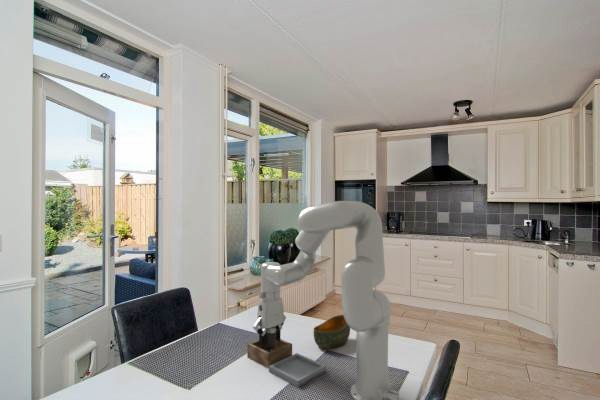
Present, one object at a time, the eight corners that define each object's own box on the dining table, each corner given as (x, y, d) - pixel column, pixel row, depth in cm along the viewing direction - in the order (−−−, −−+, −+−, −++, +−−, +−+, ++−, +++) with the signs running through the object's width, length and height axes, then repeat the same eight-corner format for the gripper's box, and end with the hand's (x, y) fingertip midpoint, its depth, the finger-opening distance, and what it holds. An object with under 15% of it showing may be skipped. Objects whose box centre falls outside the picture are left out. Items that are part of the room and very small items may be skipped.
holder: (292, 357, 124) (292, 343, 124) (268, 368, 116) (268, 354, 116) (271, 347, 133) (271, 335, 133) (247, 357, 124) (247, 343, 124)
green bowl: (363, 347, 133) (362, 322, 133) (316, 353, 128) (315, 327, 128) (350, 335, 146) (350, 313, 146) (307, 340, 141) (307, 316, 141)
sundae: (275, 362, 120) (276, 321, 121) (258, 360, 122) (259, 319, 122) (280, 354, 127) (281, 315, 127) (263, 352, 128) (264, 313, 128)
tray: (325, 371, 114) (325, 365, 114) (298, 387, 104) (298, 381, 104) (296, 358, 123) (296, 353, 123) (268, 371, 113) (268, 366, 113)
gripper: (259, 301, 116) (258, 352, 115) (293, 292, 128) (292, 338, 128) (246, 297, 121) (245, 346, 120) (280, 289, 133) (279, 333, 133)
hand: (269, 341), depth 124 cm, fingers closed on sundae, 6 cm apart
